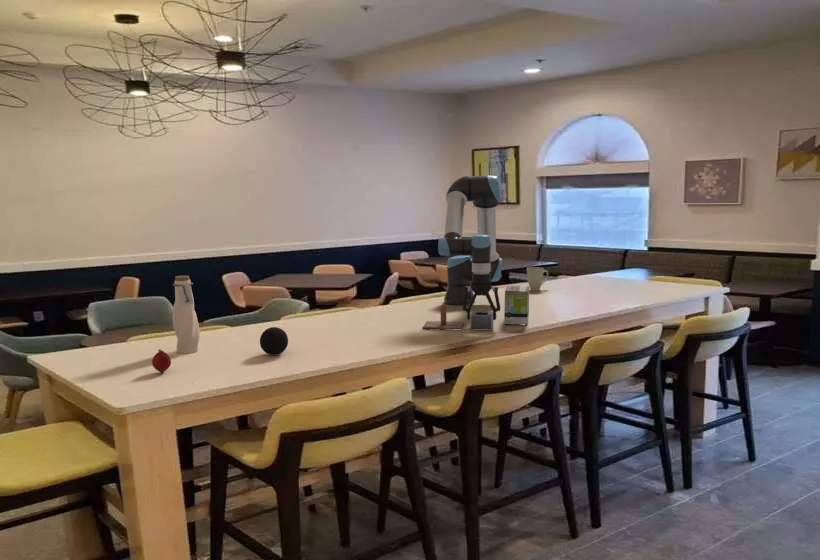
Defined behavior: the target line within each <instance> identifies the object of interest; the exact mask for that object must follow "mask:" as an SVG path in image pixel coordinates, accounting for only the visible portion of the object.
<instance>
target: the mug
mask: <svg viewBox="0 0 820 560" xmlns="http://www.w3.org/2000/svg"><path fill="white" fill-rule="evenodd" d="M544 273H545V274H546V277H545V278H544ZM526 276H527V279H526V280H527V283H528V286H529V291H532V292H539V291H540V290H541V287H542V286H543V285H544V283H546V281H547V280H548V278H549V271H548V270H545V269H544V267H538V266H537V267H536V266H535V267H534V266H532V267H527V268H526ZM543 278H544V279H543Z"/></svg>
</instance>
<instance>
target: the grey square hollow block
mask: <svg viewBox="0 0 820 560" xmlns="http://www.w3.org/2000/svg"><path fill="white" fill-rule="evenodd" d="M470 329H491V330H492V328H491V311H472V315H471V328H470Z"/></svg>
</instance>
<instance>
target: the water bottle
mask: <svg viewBox="0 0 820 560" xmlns="http://www.w3.org/2000/svg"><path fill="white" fill-rule="evenodd" d="M174 278H175V279H174V283H172V287H174V296H175V299H174V304H173V308H172V325H173V329H174V333H175V335H176V338H177V342H176V353H177V354H193V353H196V352H198V351H199V342H200V334H201V332H200V326H199V321H198V317H197V313H196V311H195V301H194V295H193V290H192V285H194V283H193V282H191V281H192V280H191V279H190V275H176V276H174Z"/></svg>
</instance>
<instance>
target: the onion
mask: <svg viewBox="0 0 820 560" xmlns="http://www.w3.org/2000/svg"><path fill="white" fill-rule="evenodd" d="M157 351H158V352H156V354H155V355H154V356H153V357H152V360H151V364H152V366H153V368H154V369H155V371H158V372H159V373H161V372H164V371H165V372H166V371H168V369H169V368H170V367H171V364H172V359H171V356H170V355H169V354H168V353H167V352H165V351H164V350H162V349H160V348H159V349H158V350H157ZM165 372H164V373H165Z"/></svg>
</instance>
